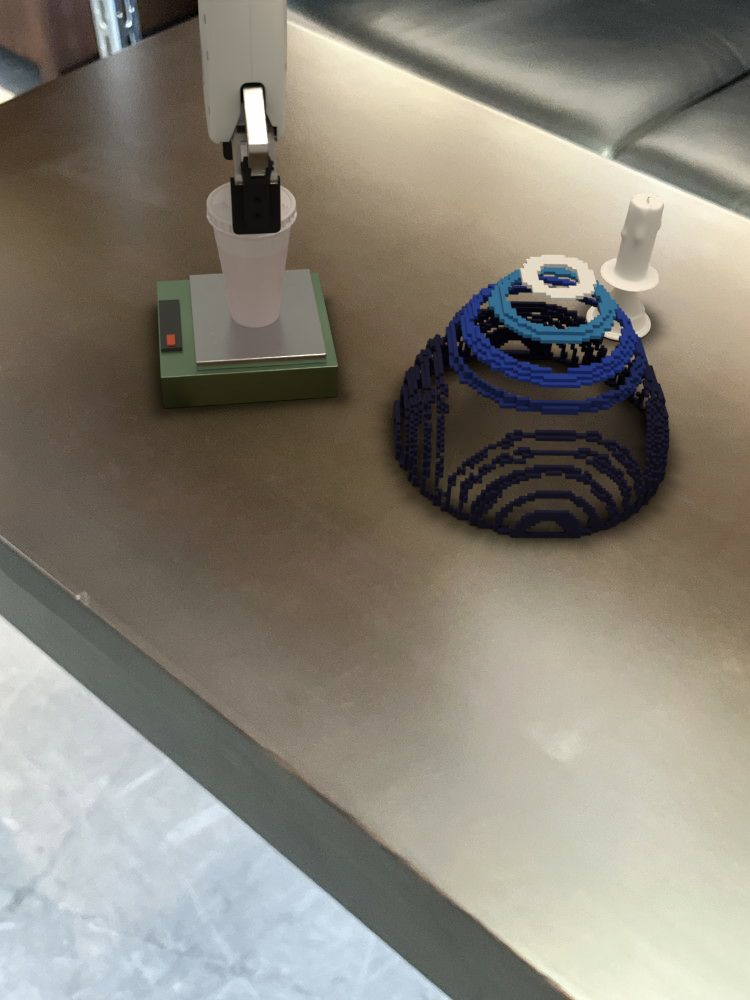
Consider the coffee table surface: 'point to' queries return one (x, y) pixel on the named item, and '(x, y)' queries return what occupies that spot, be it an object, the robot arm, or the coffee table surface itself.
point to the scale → (232, 383)
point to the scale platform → (250, 347)
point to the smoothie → (251, 259)
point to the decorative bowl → (540, 348)
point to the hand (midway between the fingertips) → (250, 193)
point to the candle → (633, 264)
